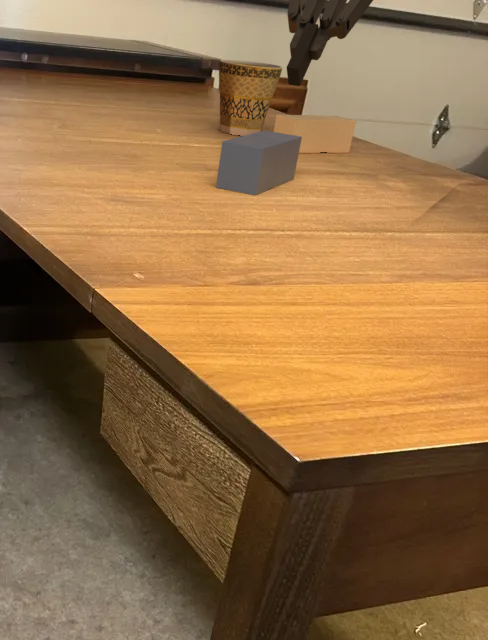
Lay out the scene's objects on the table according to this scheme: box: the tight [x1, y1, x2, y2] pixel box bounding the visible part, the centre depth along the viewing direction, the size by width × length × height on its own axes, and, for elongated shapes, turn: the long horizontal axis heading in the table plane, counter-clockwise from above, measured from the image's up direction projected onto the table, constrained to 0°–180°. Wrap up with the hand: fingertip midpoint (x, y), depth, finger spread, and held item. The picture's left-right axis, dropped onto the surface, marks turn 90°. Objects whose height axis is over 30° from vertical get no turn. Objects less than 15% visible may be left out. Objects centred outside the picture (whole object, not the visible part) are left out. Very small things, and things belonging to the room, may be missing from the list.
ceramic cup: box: [218, 59, 283, 137], centre depth 133 cm, size 13×10×10 cm
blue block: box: [215, 130, 302, 196], centre depth 99 cm, size 5×5×14 cm
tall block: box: [273, 114, 357, 154], centre depth 125 cm, size 4×4×12 cm
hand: (293, 76), depth 99 cm, fingers closed
